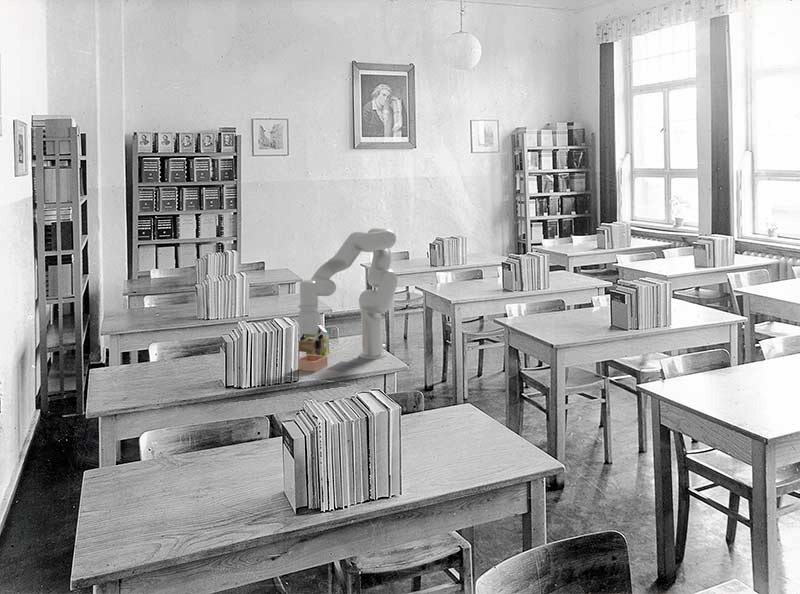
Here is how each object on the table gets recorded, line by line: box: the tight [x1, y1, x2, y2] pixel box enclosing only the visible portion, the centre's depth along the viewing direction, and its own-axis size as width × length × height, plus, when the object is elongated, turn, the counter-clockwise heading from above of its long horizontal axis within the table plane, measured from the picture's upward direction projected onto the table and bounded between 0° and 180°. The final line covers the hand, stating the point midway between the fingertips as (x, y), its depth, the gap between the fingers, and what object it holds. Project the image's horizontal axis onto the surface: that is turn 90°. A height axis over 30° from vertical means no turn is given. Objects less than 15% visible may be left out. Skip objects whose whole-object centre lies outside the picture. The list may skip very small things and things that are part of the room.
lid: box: [298, 337, 324, 353], centre depth 324 cm, size 11×7×5 cm, turn 155°
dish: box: [298, 354, 329, 373], centre depth 326 cm, size 10×10×5 cm
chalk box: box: [304, 330, 330, 357], centre depth 346 cm, size 9×9×15 cm
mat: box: [325, 360, 362, 372], centre depth 327 cm, size 14×10×1 cm
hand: (310, 347), depth 324 cm, fingers closed on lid, 7 cm apart
